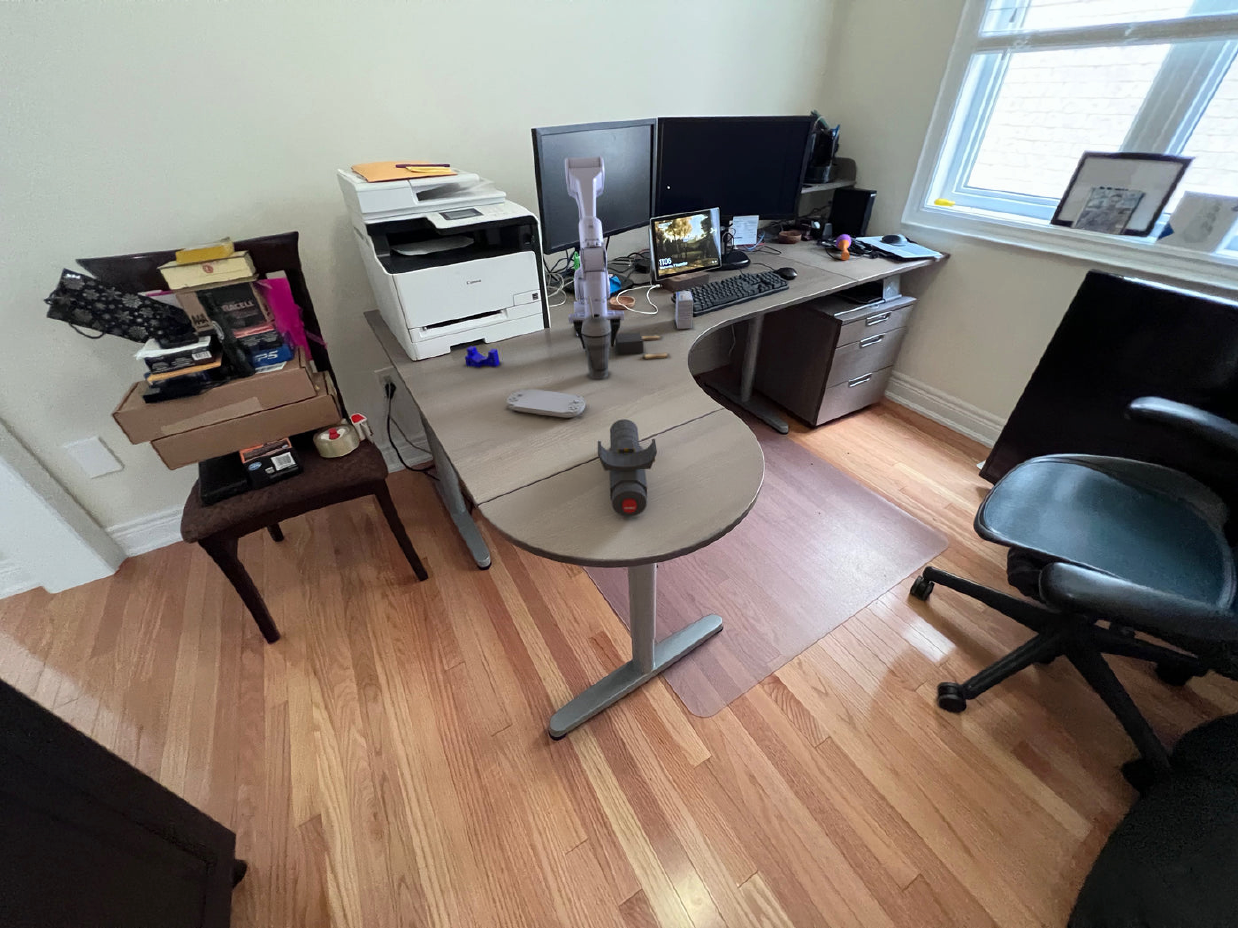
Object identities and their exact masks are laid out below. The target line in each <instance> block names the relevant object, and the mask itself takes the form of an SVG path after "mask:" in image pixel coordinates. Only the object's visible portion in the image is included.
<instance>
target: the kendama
mask: <svg viewBox="0 0 1238 928" xmlns="http://www.w3.org/2000/svg"><path fill="white" fill-rule="evenodd" d="M851 245H852V238H851V236H850V235H848V234H841V235H839V236H838V237H837V238H836V240H835V247H836V248H837V250H840V251H841V253H840V260H841V261H843V262H845V261H849V259H850V258H851V256H850V252H849V250H848V248H850V246H851Z"/></svg>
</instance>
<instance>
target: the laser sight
mask: <svg viewBox="0 0 1238 928" xmlns="http://www.w3.org/2000/svg"><path fill="white" fill-rule="evenodd" d="M639 438H640V437H639V428H638V426H637V424H636V422H634V421H632V420H630V419H626V418H625V419H618V420H617V421H614V422H613V424H611V426H610V428H609V442H610V447H609V448H608V449H606V448H605V447H604V446H603V445H602V440H597V456H598V458H599V459H598V460H599V461H600V464H601V465H602V468H603V471H605V472H607V471H608V472H609V495H610V496H609V497H610V501H611V507H612V509H613V511H614V512H615V513H616V514H618V515H620V516H623V517H634V516H638V515H639V514H641V513H643V511H645V510H646V508H647V505H648V485H647V476H646V470H651V469H652V467H653V464H654V463H655V462H656V456H657V453H658V449H657V443H656V439H655V438H651V444H650V445H649V446H647V447H646V448H645V449H643V447H642V446H641V445H640V439H639Z"/></svg>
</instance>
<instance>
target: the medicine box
mask: <svg viewBox="0 0 1238 928" xmlns="http://www.w3.org/2000/svg"><path fill="white" fill-rule="evenodd" d="M693 310H694V299H693V296H692V292H691V291H684V290H683V291H676V294H675V314H674V315H675V316H674V317H675V323H676V329H678V330H687V329H688V330H689V329H691V330H692V329H693Z"/></svg>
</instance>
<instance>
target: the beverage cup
mask: <svg viewBox="0 0 1238 928" xmlns="http://www.w3.org/2000/svg"><path fill="white" fill-rule="evenodd" d="M588 298H589V304H590V310H591V315H590V316H588V317H587V318H586V319H585V320H584V322H583V325H582V331H581V334H582V337H583V341H584V345H585V349H584V351H585V357H586V363H587V367H588V374H589V377H590V378H591V379H593V380H603V379H605V378H607V377H608V375H609V374H608V373H609V360H610V336H611V327H610V321H609V320H607V319H606V318H605V317H604V316H602V315H600V314H593V309H592V303H591V297H590V296H588Z"/></svg>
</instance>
